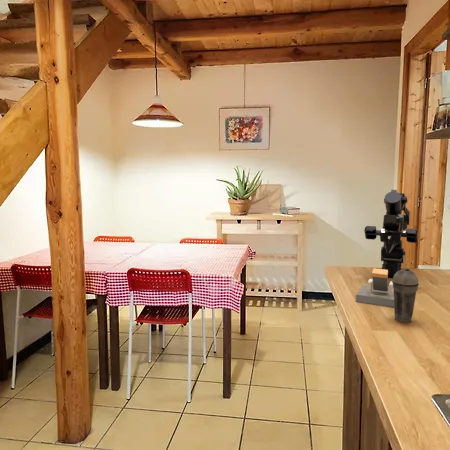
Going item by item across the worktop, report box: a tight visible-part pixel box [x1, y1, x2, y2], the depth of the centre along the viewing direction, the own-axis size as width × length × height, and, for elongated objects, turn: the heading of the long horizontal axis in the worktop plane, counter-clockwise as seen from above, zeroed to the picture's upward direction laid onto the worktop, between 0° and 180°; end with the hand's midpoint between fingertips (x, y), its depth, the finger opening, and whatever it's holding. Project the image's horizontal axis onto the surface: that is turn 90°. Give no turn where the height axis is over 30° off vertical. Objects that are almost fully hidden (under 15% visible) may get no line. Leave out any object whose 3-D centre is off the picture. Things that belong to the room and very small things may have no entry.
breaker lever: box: [371, 268, 389, 292], centre depth 138 cm, size 2×5×9 cm, turn 62°
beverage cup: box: [392, 254, 420, 324], centre depth 121 cm, size 7×7×20 cm
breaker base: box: [355, 278, 394, 308], centre depth 140 cm, size 12×14×6 cm
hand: (388, 252), depth 152 cm, fingers closed
